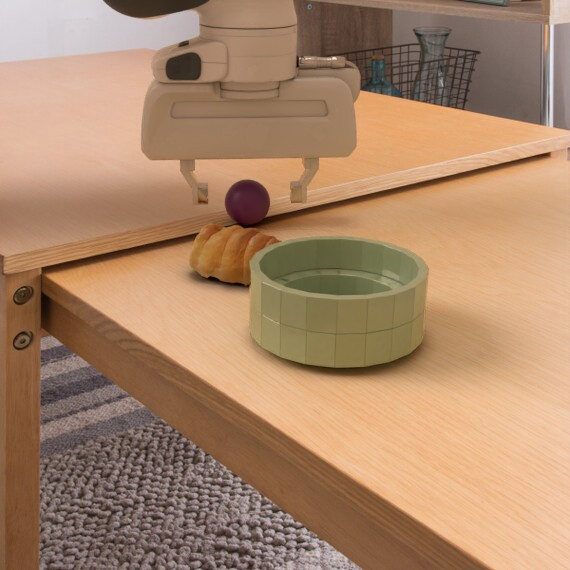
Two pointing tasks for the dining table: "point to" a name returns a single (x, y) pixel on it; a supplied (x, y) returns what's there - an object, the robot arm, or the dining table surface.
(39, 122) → the dining table surface
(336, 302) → the basin
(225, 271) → the pastry
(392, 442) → the dining table surface
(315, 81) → the robot arm
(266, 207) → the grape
